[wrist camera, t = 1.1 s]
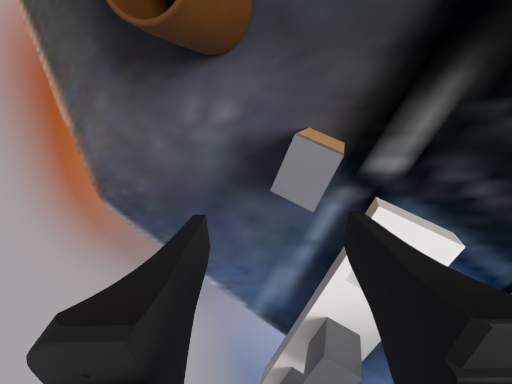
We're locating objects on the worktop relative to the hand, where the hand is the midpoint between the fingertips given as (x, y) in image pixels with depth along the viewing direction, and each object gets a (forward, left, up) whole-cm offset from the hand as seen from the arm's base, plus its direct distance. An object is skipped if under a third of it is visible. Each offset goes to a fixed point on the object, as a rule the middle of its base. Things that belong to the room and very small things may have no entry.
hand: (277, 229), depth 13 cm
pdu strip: (-10, +14, -13) cm, 21 cm away
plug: (0, -1, -13) cm, 13 cm away
